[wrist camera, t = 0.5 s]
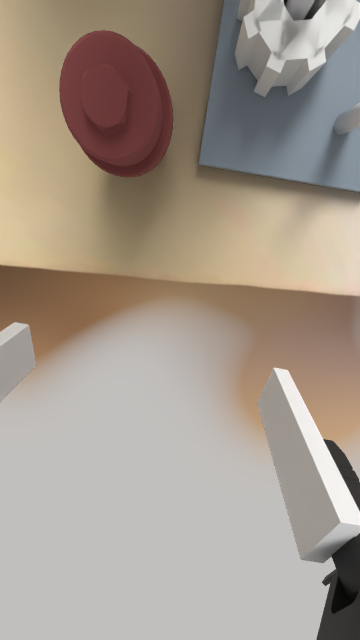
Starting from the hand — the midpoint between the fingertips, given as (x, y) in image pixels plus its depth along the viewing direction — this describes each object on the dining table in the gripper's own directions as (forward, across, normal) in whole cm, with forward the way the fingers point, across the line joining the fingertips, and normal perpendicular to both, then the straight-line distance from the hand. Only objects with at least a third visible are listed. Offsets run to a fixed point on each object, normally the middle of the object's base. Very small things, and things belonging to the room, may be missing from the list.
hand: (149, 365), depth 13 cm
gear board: (+26, +11, +21) cm, 36 cm away
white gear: (+25, +7, +24) cm, 35 cm away
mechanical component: (+27, -8, +14) cm, 31 cm away
